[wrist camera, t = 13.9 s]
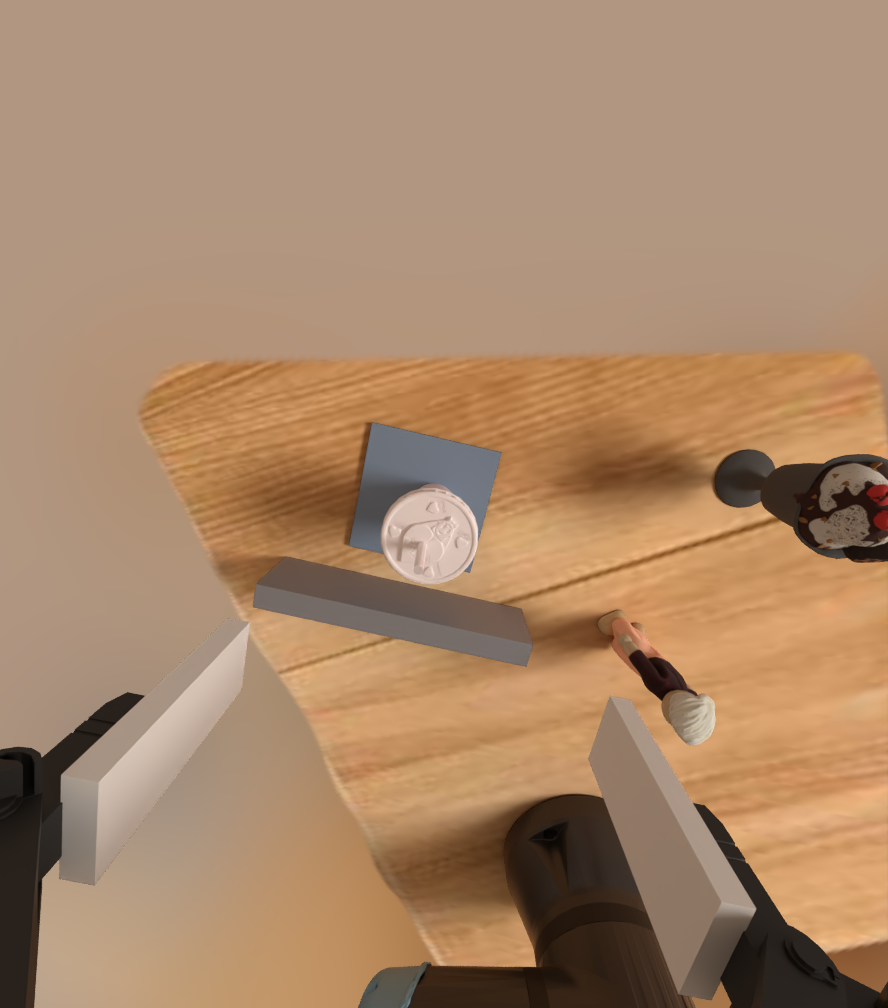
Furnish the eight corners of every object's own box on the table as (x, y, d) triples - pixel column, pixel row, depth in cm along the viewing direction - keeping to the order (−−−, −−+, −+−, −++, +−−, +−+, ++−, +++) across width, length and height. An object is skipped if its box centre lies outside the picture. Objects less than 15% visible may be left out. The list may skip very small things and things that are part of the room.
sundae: (723, 429, 36) (911, 450, 21) (798, 451, 36) (1035, 487, 21) (690, 504, 37) (845, 572, 22) (763, 525, 37) (962, 605, 23)
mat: (469, 571, 39) (469, 572, 38) (350, 544, 39) (349, 545, 38) (500, 452, 36) (501, 452, 36) (373, 422, 36) (372, 422, 36)
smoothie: (381, 497, 37) (343, 554, 23) (440, 452, 36) (436, 483, 22) (427, 553, 38) (417, 638, 24) (485, 510, 37) (508, 574, 24)
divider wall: (515, 628, 40) (526, 666, 34) (282, 576, 39) (252, 607, 34) (521, 608, 40) (533, 644, 34) (285, 556, 39) (255, 584, 33)
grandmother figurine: (579, 630, 40) (635, 733, 28) (601, 597, 39) (669, 687, 27) (648, 665, 41) (733, 780, 28) (672, 633, 40) (770, 737, 28)
